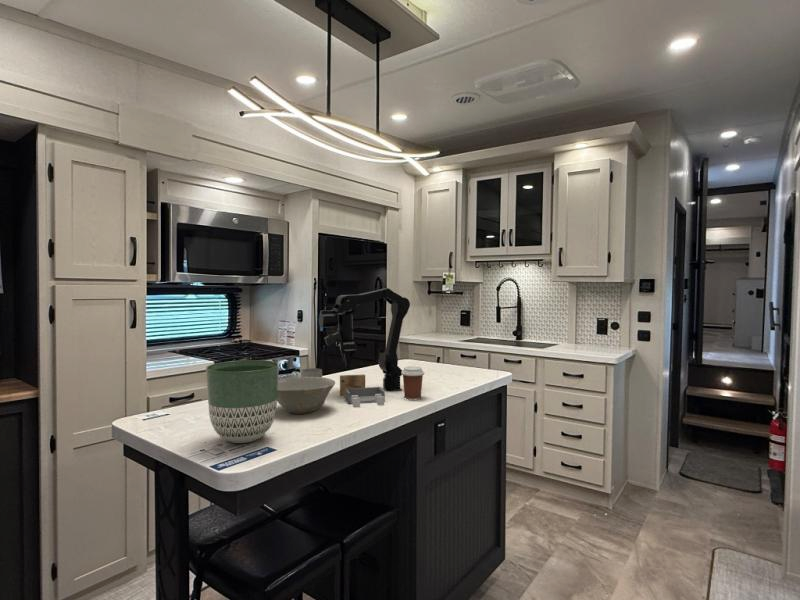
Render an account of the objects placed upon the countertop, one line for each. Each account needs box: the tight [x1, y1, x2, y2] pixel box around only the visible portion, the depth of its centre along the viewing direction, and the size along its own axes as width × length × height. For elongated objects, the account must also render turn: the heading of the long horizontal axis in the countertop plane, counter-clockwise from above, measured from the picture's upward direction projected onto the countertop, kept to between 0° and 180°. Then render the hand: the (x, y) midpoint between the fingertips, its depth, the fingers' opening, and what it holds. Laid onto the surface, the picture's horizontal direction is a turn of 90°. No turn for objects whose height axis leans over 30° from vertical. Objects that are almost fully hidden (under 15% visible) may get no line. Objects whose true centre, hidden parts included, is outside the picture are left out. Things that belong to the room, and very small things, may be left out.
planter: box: [205, 359, 280, 444], centre depth 133 cm, size 20×20×21 cm
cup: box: [300, 368, 323, 378], centre depth 189 cm, size 8×8×10 cm
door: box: [339, 373, 366, 397], centre depth 189 cm, size 10×3×8 cm, turn 105°
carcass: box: [344, 386, 386, 408], centre depth 178 cm, size 14×12×4 cm
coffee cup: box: [401, 365, 425, 401], centre depth 184 cm, size 9×9×12 cm
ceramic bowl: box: [277, 376, 336, 415], centre depth 165 cm, size 22×23×10 cm
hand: (346, 364), depth 190 cm, fingers open, 9 cm apart
